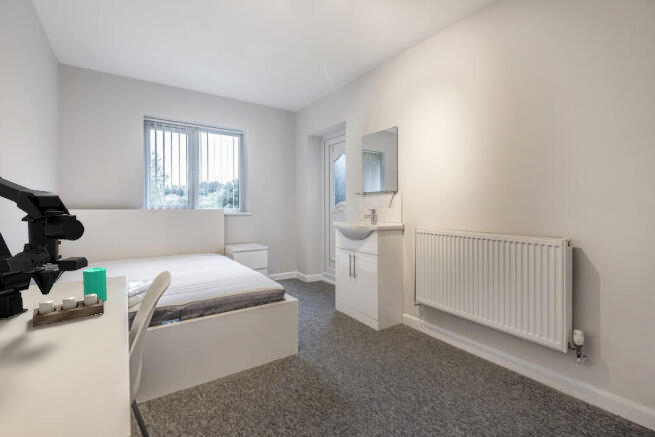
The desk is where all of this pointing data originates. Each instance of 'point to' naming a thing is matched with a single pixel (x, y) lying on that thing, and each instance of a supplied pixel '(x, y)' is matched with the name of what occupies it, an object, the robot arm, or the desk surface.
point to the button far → (90, 299)
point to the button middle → (69, 303)
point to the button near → (46, 307)
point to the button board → (67, 313)
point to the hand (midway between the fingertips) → (45, 294)
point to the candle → (95, 282)
